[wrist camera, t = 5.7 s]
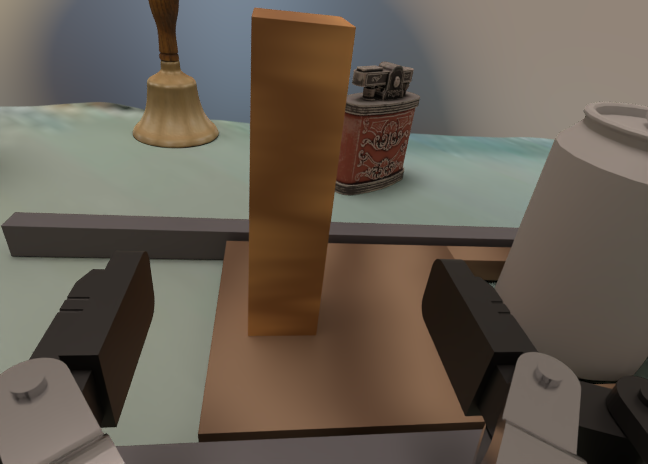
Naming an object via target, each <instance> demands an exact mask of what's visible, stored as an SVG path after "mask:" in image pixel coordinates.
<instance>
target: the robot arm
mask: <svg viewBox="0 0 648 464" xmlns="http://www.w3.org/2000/svg"><path fill="white" fill-rule="evenodd" d="M421 308H422V316H423V320H424V322H425V325H426V327H427V329H428V332H429V334H430V336H431V338H432V341H433V343H434V345H435V348H436V350H437V352H438V355H439V357H440V359H441V362H442V364H443V366H444V368H445V371H446V373H447V375H448V378H449V380H450V382H451V385H452V387H453V389H454V392H455V394H456V396H457V399H458V401H459V403H460V405H461V408H462V410H463V412H464V415H465V416H482V417H483V419H484V421H485V423H486V424H485V426H484V428H483V430H482V432H481V436H480V439H479V442H478V446H477V449H476V452H475V456H474V459H473V462H472V464H648V379H645V378H642V377H637V376H624V377H622V378H620V379H619V380H618V382H617V383H616V384H615V386H614V387H613V389H610V388H606V387H602V386H598V385H594V384H590V383H586V382H582V381H579V380H578V378H577V376H576V375H575V374H574V373H573V371H572V370H571V369H570V368H569V367H567V366H566V365H565V364H564V363H562V362H561V361H559V360H558V359H556V358H554V357H552V356H549V355H546V354H543V353H539V352H538V351H537V349H536V348H535V346H534V345H533V344H532V342H531V341H530V339H529V338H528V336H527V335H526V333H525V332H524V331H523V329H522V328H521V326H520V325H519V323H518V322H517V320H516V319H515V318H514V316H513V315H511V314H510V310H509V309H508V307H507V306H506V305H505V304H503V300H502V299H501V297H500V296H499V295H498V293H497V292H496V290H495V289H494V288H493V287H492V286H491V285H489V284H488V283H487V282H486V281H484V280H483V279H482V278H481V277H475V276H474V275H473V273H472V272H471V270H470V269H469V267H468V266H467V264H466V263H465V261H464V260H462V259H436V260H435V261H434V262H433V265H432V268H431V271H430V275H429V278H428V281H427V285H426V288H425V291H424V295H423V298H422V307H421ZM153 313H154V290H153V283H152V276H151V268H150V261H149V256H148V253H147V252H146V251H115V252H114V253H113V255H112V257H111V259H110V261H109V263H108V264H107V266H106V268H105V269H93V270H91V271H90V272H89V273H87V274H86V275H85V276H83V277H82V278H81V279H80V280H78V281H77V282H76V283H75V285H74V287H73V288H72V290H71V292H70V293H69V295H68V296H67V300H65V301H64V303H63V305H62V306H61V308H60V312H58V313H57V315H56V316H55V318H54V319H53V321H52V323H51V324H50V326H49V328H48V329H47V331H46V333H45V334H44V336H43V338H42V339H41V341H40V342H39V344H38V346H37V347H36V349H35V351H34V352H33V354H32V356H31V357H30V359H29V360H27V361H24V362H22V363H19V364H17V365H15V366H13V367H11V368H9V369H7V370H6V371H4V372H3V373H2V374H0V464H125V463H124V461H123V459H122V458H121V456H120V454H119V452H118V450H117V448H116V447H115V445H114V443H113V441H112V440H111V438H110V436H109V435H108V434H107V433H106V434H104V433H103V432H102V430H101V428H104V427H117V424H118V421H119V418H120V415H121V412H122V409H123V406H124V403H125V400H126V397H127V394H128V390H129V387H130V384H131V381H132V378H133V375H134V372H135V369H136V366H137V363H138V360H139V357H140V354H141V351H142V348H143V345H144V342H145V339H146V336H147V333H148V330H149V327H150V324H151V321H152V318H153Z"/></svg>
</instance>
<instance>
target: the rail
mask: <svg viewBox="0 0 648 464" xmlns="http://www.w3.org/2000/svg"><path fill="white" fill-rule="evenodd" d="M1 227H2V230H3V233H4V236H5V238H6V241H7V244H8V247H9V250H10V253H11V256H43V257H102V258H111V257H112V255H113V253H114V252H115V251H146V252H147V253H148V256H149V258H161V259H221V260H224V255H225V248H226V241H249V220H247V219H215V218H183V217H151V216H118V215H86V214H54V213H22V212H15V213H14V214H13V215H12V216H11V217H10V218H9V219H8V220H7V221H6V222H5V223H4V224H3V225H1ZM518 229H519V228H504V227H472V226H440V225H408V224H376V223H343V222H331V224H330V231H329V239H328V243H341V244H383V245H426V246H468V247H512V244H513V242H514V239H515V237H516V234H517V232H518ZM482 430H483V429H480V430H458V431H437V432H415V433H394V434H372V435H351V436H329V437H307V438H286V439H264V440H243V441H221V442H199V443H178V444H156V445H135V446H115V447H116V448H117V450H118V452H119V454H120V456H121V458H122V459H123V461H124V463H125V464H472V462H473V459H474V456H475V452H476V449H477V446H478V442H479V439H480V436H481V432H482Z"/></svg>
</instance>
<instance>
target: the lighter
mask: <svg viewBox="0 0 648 464" xmlns="http://www.w3.org/2000/svg"><path fill="white" fill-rule="evenodd" d="M412 75H413V69H412V68H409V67H402V66H400V65H396V64H393V63H389V62H381V63H380V64H379V66H362V67H357V69H356V70H354V75H353V82H352V83H353V84H354V85H356V86H361V87H364V90H363V93H357V94H352V95H347V100H346V107H345V115H344V123H343V131H342V138H341V146H340V154H339V162H338V169H337V177H336V185H335V192H337V193H340V194H343V195H356V194H362V193H367V192H371V191H375V190H379V189H383V188H385V187H388V186H390V185H393V184H395V183H396V182H398V181H400V180H401V179H402V177H403V173H404V168H403V163H404V158H405V153H406V149H407V144H408V139H409V135H410V130H411V125H412V121H413V116H414V112H415V107H417V106H418V104H419V99H420V96H419V95H417V94H414V93H411V92H406V90H407V89H408V87H409V83H410V82H411V79H412Z"/></svg>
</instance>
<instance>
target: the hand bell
mask: <svg viewBox="0 0 648 464" xmlns="http://www.w3.org/2000/svg"><path fill="white" fill-rule="evenodd" d="M149 4H150V8H151V11H152V14H153V17H154V19H155V22H156V25H157V29H158V38H159V51H160V54H159V57H160V59H161V70H160V71H159V72H158V73H157V74H155V75H153V76H151V77H150V78H149V79H148V81H147V103H146V108H145V112H144V114H143V117H142V119H141V120H140V122H138V123H137V124H136V126H135V127H134V130H133V136H134V137H135V139H137V140H138V141H140V142H142V143H145V144H148V145H153V146H159V147H169V148H182V147H191V146H197V145H202V144H205V143H209V142H211V141H212V140H214V139H215V138H216V137H217V136H218V134H219V132H218V129H217V127H216V126H215V125H214V123H212V122H211V121H210V120H209V119H208V118H207V116H206V114H205V113H204V111H203V108H202V106H201V103H200V100H199V96H198V91H197V85H196V81H195V80H194V79H193V78H192V77H190V76H188V75H186V74H184V73H183V72H182V71H181V70H180V63H179V56H178V54H177V53H178V48H177V41H176V33H175V32H176V21H177V16H178V8H179V0H149Z"/></svg>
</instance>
